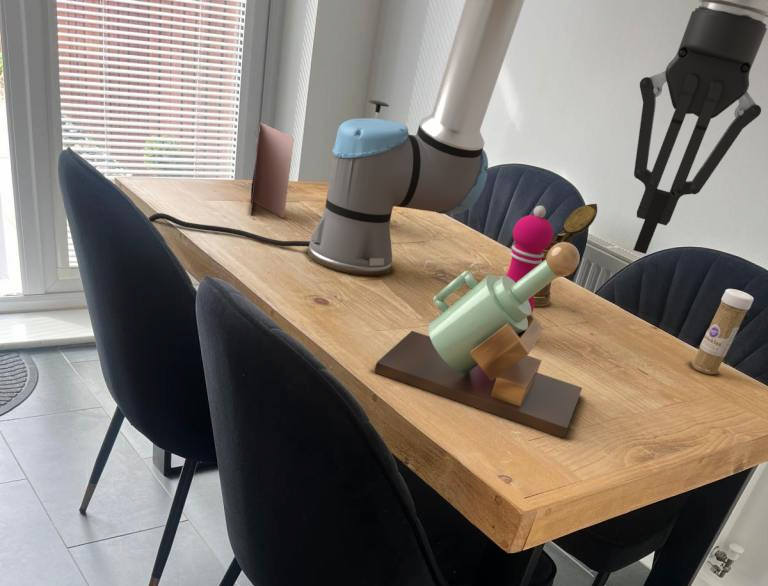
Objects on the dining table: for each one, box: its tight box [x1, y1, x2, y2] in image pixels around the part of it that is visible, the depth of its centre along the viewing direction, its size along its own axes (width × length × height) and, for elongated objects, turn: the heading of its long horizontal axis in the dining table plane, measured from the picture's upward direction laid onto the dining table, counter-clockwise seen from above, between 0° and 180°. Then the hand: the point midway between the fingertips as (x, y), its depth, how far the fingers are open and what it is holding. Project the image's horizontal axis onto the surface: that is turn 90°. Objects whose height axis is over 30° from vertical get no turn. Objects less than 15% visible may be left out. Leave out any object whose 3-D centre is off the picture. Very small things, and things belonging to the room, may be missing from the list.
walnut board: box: [374, 330, 583, 439], centre depth 104 cm, size 26×15×2 cm, turn 69°
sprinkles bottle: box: [691, 288, 755, 375], centre depth 125 cm, size 5×5×13 cm
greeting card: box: [250, 122, 295, 219], centre depth 151 cm, size 11×7×15 cm, turn 6°
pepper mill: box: [505, 205, 554, 314], centre depth 118 cm, size 7×7×20 cm
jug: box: [427, 242, 581, 374], centre depth 98 cm, size 16×8×20 cm, turn 69°
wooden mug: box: [533, 203, 598, 307], centre depth 138 cm, size 9×14×18 cm, turn 111°
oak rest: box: [470, 312, 545, 407], centre depth 100 cm, size 8×11×10 cm
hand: (640, 249), depth 89 cm, fingers closed
